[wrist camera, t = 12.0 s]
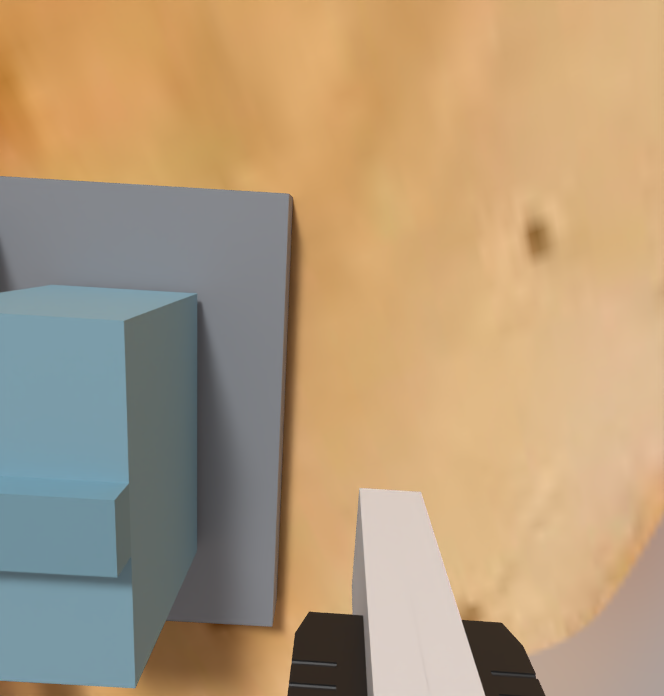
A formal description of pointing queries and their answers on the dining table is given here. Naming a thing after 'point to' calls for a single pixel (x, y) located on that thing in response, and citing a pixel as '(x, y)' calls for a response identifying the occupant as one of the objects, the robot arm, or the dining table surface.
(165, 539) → the block
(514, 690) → the robot arm
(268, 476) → the pin plate
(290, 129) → the dining table surface
